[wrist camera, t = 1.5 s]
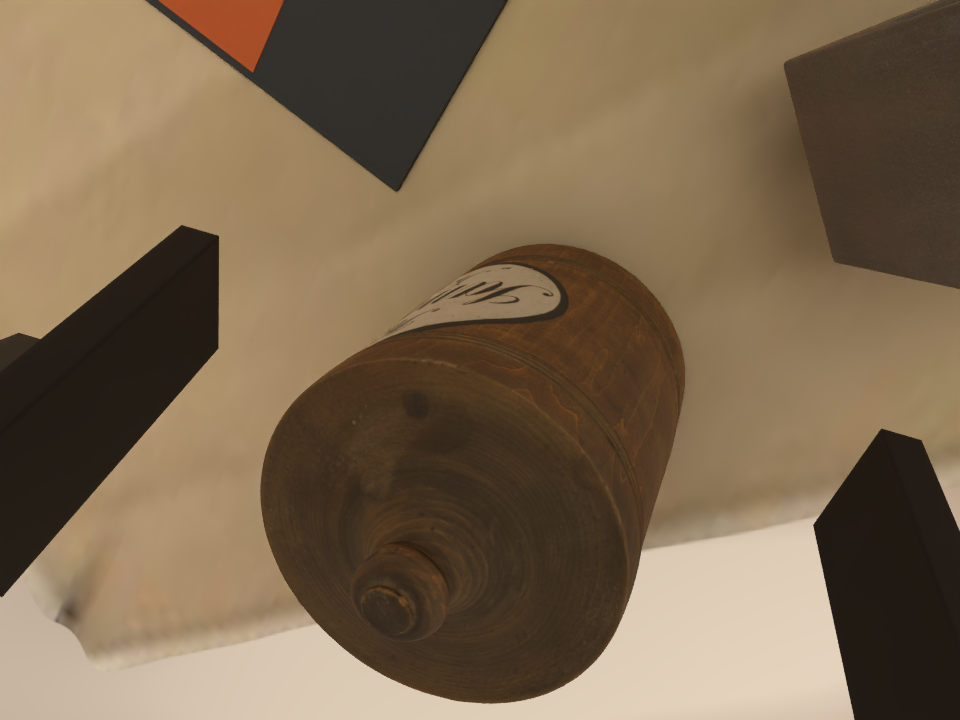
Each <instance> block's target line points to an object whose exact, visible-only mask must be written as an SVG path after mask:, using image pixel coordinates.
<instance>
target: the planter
mask: <svg viewBox="0 0 960 720" xmlns="http://www.w3.org/2000/svg"><path fill="white" fill-rule="evenodd" d="M784 70H785V74H786V78H787V81H788V85H789V89H790V93H791V97H792V101H793V105H794V109H795V113H796V117H797V120H798V124H799V128H800V132H801V136H802V140H803V144H804V148H805V152H806V156H807V160H808V163H809V167H810V171H811V175H812V179H813V183H814V187H815V191H816V195H817V199H818V202H819V206H820V210H821V214H822V218H823V222H824V226H825V230H826V234H827V238H828V242H829V245H830V249H831V253H832V257H833V260H834V262H836V263H840V264H845V265H850V266H855V267H859V268H864V269H869V270H873V271H878V272H883V273H887V274H892V275H897V276H901V277H906V278H911V279H915V280H920V281H925V282H929V283H934V284H939V285H944V286H948V287H953V288H958V289H960V0H939V1H936V2H934V3H931V4H929V5H926V6H923V7H921V8H918V9H915V10H913V11H910V12H908V13H905V14H903V15H900V16H898V17H895V18H893V19H890V20H888V21H885V22H883V23H880V24H878V25H875V26H873V27H870V28H868V29H865V30H863V31H860V32H858V33H855V34H853V35H850V36H848V37H845V38H843V39H840V40H838V41H835V42H833V43H830V44H828V45H825V46H823V47H820V48H818V49H815V50H813V51H810V52H808V53H805V54H803V55H800V56H798V57H795V58H793V59H790V60H788V61H786V62H785V63H784Z"/></svg>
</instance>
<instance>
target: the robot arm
mask: <svg viewBox="0 0 960 720" xmlns="http://www.w3.org/2000/svg"><path fill="white" fill-rule="evenodd" d="M218 324H219V236H217V235H214V234H210V233H207V232H203V231H200V230H197V229H193V228H190V227H186V226H183V225H181V226H180V227H179V228H178V229H176V230H175V231H174V232H173V233H171V234H170V235H169V236H168V237H166V238H165V239H164V240H163V241H161V242H160V243H159V244H158V245H157V246H155V247H154V248H153V249H152V250H150V251H149V252H148V253H147V254H145V255H144V256H143V257H142V258H140V259H139V260H138V261H137V262H136V263H134V264H133V265H132V266H131V267H129V268H128V269H127V270H126V271H124V272H123V273H122V274H121V275H119V276H118V277H117V278H116V279H115V280H113V281H112V282H111V283H110V284H108V285H107V286H106V287H105V288H103V289H102V290H101V291H100V292H98V293H97V294H96V295H95V296H93V297H92V298H91V299H90V300H89V301H87V302H86V303H85V304H84V305H82V306H81V307H80V308H79V309H77V310H76V311H75V312H74V313H72V314H71V315H70V316H69V317H68V318H66V319H65V320H64V321H63V322H61V323H60V324H59V325H58V326H56V327H55V328H54V329H53V330H51V331H50V332H49V333H48V334H47V335H45V336H44V337H43V338H42V339H38V338H34V337H31V336H28V335H24V334H21V333H17V334H15V335H12V336H10V337H7V338H5V339H2V340H0V596H1V597H2V596H4V594H5V593H6V592H7V591H8V590H9V589H10V588H11V586H12V585H13V584H14V583H15V582H16V581H17V579H18V578H19V577H20V576H21V575H22V574H23V573H24V571H25V570H26V569H27V568H28V567H29V566H30V565H31V563H32V562H33V561H34V560H35V559H36V558H37V556H38V555H39V554H40V553H41V552H42V551H43V550H44V548H45V547H46V546H47V545H48V544H49V543H50V541H51V540H52V539H53V538H54V537H55V536H56V535H57V533H58V532H59V531H60V530H61V529H62V528H63V527H64V525H65V524H66V523H67V522H68V521H69V520H70V518H71V517H72V516H73V515H74V514H75V513H76V512H77V510H78V509H79V508H80V507H81V506H82V505H83V504H84V502H85V501H86V500H87V499H88V498H89V497H90V495H91V494H92V493H93V492H94V491H95V490H96V489H97V487H98V486H99V485H100V484H101V483H102V482H103V481H104V479H105V478H106V477H107V476H108V475H109V474H110V472H111V471H112V470H113V469H114V468H115V467H116V466H117V464H118V463H119V462H120V461H121V460H122V459H123V457H124V456H125V455H126V454H127V453H128V452H129V451H130V449H131V448H132V447H133V446H134V445H135V444H136V443H137V441H138V440H139V439H140V438H141V437H142V436H143V434H144V433H145V432H146V431H147V430H148V429H149V428H150V426H151V425H152V424H153V423H154V422H155V421H156V420H157V418H158V417H159V416H160V415H161V414H162V413H163V411H164V410H165V409H166V408H167V407H168V406H169V405H170V403H171V402H172V401H173V400H174V399H175V398H176V397H177V395H178V394H179V393H180V392H181V391H182V390H183V388H184V387H185V386H186V385H187V384H188V383H189V382H190V380H191V379H192V378H193V377H194V376H195V375H196V373H197V372H198V371H199V370H200V369H201V368H202V367H203V365H204V364H205V363H206V362H207V361H208V360H209V359H210V357H211V356H212V355H213V354H214V353H215V352H216V350H217V349H218ZM813 526H814V531H815V535H816V540H817V544H818V550H819V554H820V558H821V564H822V568H823V573H824V578H825V582H826V587H827V592H828V596H829V601H830V606H831V611H832V615H833V620H834V625H835V630H836V634H837V639H838V644H839V648H840V653H841V657H842V662H843V667H844V672H845V676H846V681H847V686H848V691H849V695H850V700H851V704H852V709H853V714H854V719H855V720H960V531H959V529H958V526H957V524H956V521H955V519H954V517H953V514H952V512H951V509H950V507H949V505H948V503H947V500H946V498H945V495H944V493H943V490H942V488H941V486H940V483H939V481H938V479H937V476H936V474H935V471H934V469H933V467H932V464H931V462H930V460H929V457H928V455H927V452H926V450H925V448H924V445H923V443H922V440H919V439H915V438H912V437H908V436H905V435H901V434H898V433H895V432H891V431H888V430H884V429H881V430H880V431H879V433H878V434H877V435H876V437H875V438H874V440H873V441H872V443H871V444H870V445H869V447H868V448H867V450H866V451H865V452H864V454H863V455H862V457H861V458H860V460H859V461H858V462H857V464H856V465H855V467H854V468H853V469H852V471H851V472H850V474H849V475H848V477H847V478H846V479H845V481H844V482H843V484H842V485H841V486H840V488H839V489H838V491H837V492H836V494H835V495H834V496H833V498H832V499H831V501H830V502H829V503H828V505H827V506H826V508H825V509H824V511H823V512H822V513H821V515H820V516H819V518H818V519H817V521H816V522H815V523H814V525H813Z"/></svg>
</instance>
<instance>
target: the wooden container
mask: <svg viewBox="0 0 960 720" xmlns="http://www.w3.org/2000/svg"><path fill="white" fill-rule="evenodd" d="M684 385H685V367H684V359H683V354H682V349H681V346H680V342H679V339H678V336H677V334H676V331H675V329H674V327H673V324H672V322H671V320H670V319H669V317H668V315H667V313H666V312H665V310H664V309H663V307H662V306H661V304H660V303H659V302H658V300H657V299H656V298H655V296H654V295H653V294H652V293H651V292H650V291H649V290H648V289H647V288H646V287H645V286H644V285H643V284H642V283H641V282H640V281H639V280H638V279H637V278H636V277H634V276H633V275H632V274H631V273H629V272H628V271H627V270H625V269H624V268H622V267H621V266H619V265H618V264H616V263H614V262H612V261H611V260H609V259H607V258H605V257H602V256H600V255H597V254H595V253H592V252H589V251H586V250H583V249H579V248H575V247H570V246H564V245H553V244H538V245H528V246H522V247H517V248H514V249H510V250H507V251H505V252H502V253H499V254H497V255H495V256H493V257H491V258H489V259H487V260H485V261H483V262H482V263H480V264H478V265H477V266H475V267H474V268H473V269H471V270H470V271H468V272H467V273H465V274H464V275H463V276H461V277H459V278H458V279H456V280H455V281H453V282H452V283H450V284H449V285H447V286H446V287H444V288H443V289H441V290H440V291H438V292H437V293H435V294H434V295H433V296H431V297H430V298H429V299H427V300H426V301H425V302H423V303H422V304H421V305H419V306H418V307H417V308H415V309H414V310H413V311H412V312H410V313H409V314H408V315H407V316H405V317H404V318H403V319H402V320H400V321H399V322H398V323H397V324H396V325H394V326H393V327H392V328H390V329H389V330H388V331H387V332H385V333H384V334H383V335H381V336H380V337H379V338H377V339H376V340H375V341H373V342H372V343H371V344H370V345H368V346H367V347H366V348H365V349H363V350H362V351H360V352H358V353H356V354H354V355H353V356H351V357H349V358H348V359H346V360H345V361H344V362H342V363H341V364H339V365H338V366H336V367H335V368H333V369H332V370H330V371H329V372H328V373H326V374H325V375H324V376H322V377H321V378H320V379H319V380H317V381H316V382H315V383H314V384H312V385H311V386H310V387H309V388H308V389H306V390H305V391H304V392H303V393H302V394H301V395H300V396H299V397H298V398H297V399H296V400H295V401H294V402H293V404H292V405H291V406H290V407H289V408H288V410H287V411H286V412H285V414H284V415H283V417H282V418H281V420H280V421H279V423H278V425H277V427H276V429H275V431H274V433H273V435H272V437H271V440H270V442H269V445H268V448H267V451H266V454H265V459H264V463H263V468H262V476H261V491H260V492H261V508H262V515H263V522H264V527H265V531H266V535H267V538H268V542H269V545H270V547H271V550H272V553H273V555H274V558H275V560H276V562H277V565H278V567H279V569H280V571H281V573H282V575H283V577H284V579H285V581H286V582H287V584H288V586H289V587H290V589H291V590H292V592H293V593H294V595H295V596H296V597H297V599H298V601H299V602H300V603H301V605H302V606H303V607H304V608H305V609H306V611H307V612H308V613H309V614H310V616H311V617H312V618H313V619H314V620H315V621H316V623H317V624H318V625H320V627H321V628H322V629H323V630H324V631H325V632H326V633H327V634H328V635H329V636H330V637H332V638H333V639H334V640H335V641H336V642H337V643H338V644H339V645H340V646H342V647H343V648H344V649H345V650H346V651H348V652H349V653H350V654H352V655H353V656H354V657H355V658H357V659H358V660H360V661H361V662H363V663H364V664H366V665H367V666H369V667H370V668H372V669H374V670H375V671H377V672H379V673H381V674H382V675H384V676H386V677H388V678H390V679H392V680H395V681H397V682H399V683H401V684H403V685H406V686H408V687H411V688H413V689H416V690H419V691H422V692H424V693H428V694H431V695H435V696H439V697H443V698H447V699H450V700H455V701H462V702H474V703H491V704H492V703H508V702H516V701H522V700H526V699H531V698H535V697H538V696H541V695H544V694H547V693H549V692H552V691H554V690H556V689H558V688H560V687H562V686H564V685H565V684H567V683H569V682H570V681H572V680H574V679H575V678H577V677H578V676H579V675H581V674H582V673H583V672H584V671H585V670H586V669H588V668H589V667H590V666H591V665H592V664H593V663H594V662H595V661H596V660H597V658H598V657H599V656H600V655H601V654H602V652H603V651H604V649H605V648H606V647H607V645H608V644H609V642H610V641H611V639H612V637H613V636H614V634H615V632H616V630H617V627H618V625H619V623H620V621H621V619H622V616H623V614H624V611H625V609H626V606H627V603H628V601H629V598H630V595H631V592H632V589H633V585H634V581H635V578H636V574H637V569H638V566H639V560H640V555H641V549H642V546H643V542H644V539H645V535H646V532H647V528H648V525H649V522H650V518H651V515H652V511H653V508H654V505H655V501H656V498H657V495H658V492H659V489H660V486H661V483H662V480H663V476H664V473H665V470H666V466H667V463H668V460H669V457H670V453H671V449H672V445H673V441H674V436H675V432H676V427H677V423H678V419H679V414H680V410H681V405H682V400H683V394H684Z"/></svg>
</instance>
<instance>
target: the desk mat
mask: <svg viewBox="0 0 960 720" xmlns="http://www.w3.org/2000/svg"><path fill="white" fill-rule="evenodd" d="M146 1H148V2H149V3H150V4H152V5H153V6H154V7H155V8H157V9H158V10H159V11H161V12H162V13H163V14H165V15H166V16H167V17H169V18H170V19H171V20H172V21H174V22H175V23H176V24H178V25H179V26H180V27H182V28H183V29H184V30H186V31H187V32H188V33H189V34H191V35H192V36H193V37H195V38H196V39H197V40H199V41H200V42H201V43H203V44H204V45H205V46H206V47H208V48H209V49H210V50H212V51H213V52H214V53H216V54H217V55H218V56H220V57H221V58H222V59H223V60H225V61H226V62H227V63H229V64H230V65H231V66H233V67H234V68H235V69H237V70H238V71H239V72H240V73H242V74H243V75H244V76H246V77H247V78H248V79H250V80H251V81H252V82H253V83H255V84H256V85H257V86H259V87H260V88H261V89H263V90H264V91H265V92H267V93H268V94H269V95H270V96H272V97H273V98H274V99H276V100H277V101H278V102H280V103H281V104H282V105H284V106H285V107H286V108H287V109H289V110H290V111H291V112H293V113H294V114H295V115H297V116H298V117H299V118H301V119H302V120H303V121H304V122H306V123H307V124H308V125H310V126H311V127H312V128H314V129H315V130H316V131H318V132H319V133H320V134H321V135H323V136H324V137H325V138H327V139H328V140H329V141H331V142H332V143H333V144H335V145H336V146H337V147H338V148H340V149H341V150H342V151H344V152H345V153H346V154H348V155H349V156H350V157H352V158H353V159H354V160H355V161H357V162H358V163H359V164H361V165H362V166H363V167H365V168H366V169H367V170H369V171H370V172H371V173H372V174H374V175H375V176H376V177H378V178H379V179H380V180H382V181H383V182H384V183H386V184H387V185H388V186H389V187H391V188H392V189H393V190H395V191H398V190H399V188H400V187H401V185H402V183H403V181H404V180H405V178H406V176H407V175H408V173H409V171H410V169H411V168H412V166H413V164H414V162H415V161H416V159H417V157H418V155H419V154H420V152H421V150H422V148H423V147H424V145H425V143H426V141H427V140H428V138H429V136H430V135H431V133H432V131H433V129H434V128H435V126H436V124H437V122H438V121H439V119H440V117H441V115H442V114H443V112H444V110H445V108H446V107H447V105H448V103H449V101H450V100H451V98H452V96H453V95H454V93H455V91H456V89H457V88H458V86H459V84H460V82H461V81H462V79H463V77H464V75H465V74H466V72H467V70H468V68H469V67H470V65H471V63H472V61H473V60H474V58H475V56H476V54H477V53H478V51H479V49H480V48H481V46H482V44H483V42H484V41H485V39H486V37H487V35H488V34H489V32H490V30H491V28H492V27H493V25H494V23H495V21H496V20H497V18H498V16H499V14H500V13H501V11H502V9H503V8H504V6H505V4H506V2H507V1H508V0H146Z"/></svg>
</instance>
